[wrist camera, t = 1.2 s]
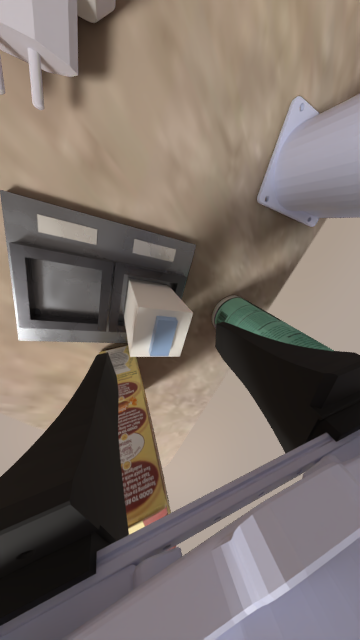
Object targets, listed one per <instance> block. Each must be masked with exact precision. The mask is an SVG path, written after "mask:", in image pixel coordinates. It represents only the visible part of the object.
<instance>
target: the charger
mask: <svg viewBox="0 0 360 640" xmlns="http://www.w3.org/2000/svg"><path fill="white" fill-rule="evenodd" d="M115 2H116V0H0V50H2V51H4V52H6V53H8V54H11V55H13V56H15V57H17V58H19V59H21V60H23V61H25V62H27V63H29V71H30V81H31V92H32V103H33V105H34V106H35V107H36V108H37V109H39V110H43V109H44V99H43V86H42V72H41V69H42V70H44V71H46V72H50V73H55V74H59V75H64V76H68V77H73V76H77V75H78V27H77V15H78V16H79V17H81V18H83V19H85V20H87V21H89V22H92V23H96V22H97V21H99V20H100V19H102V18H103V17H105V16H106V15H108V14H109V13H111V12H112V11H114V9H115ZM0 94H5V87H4V80H3V72H2V65H1V57H0Z"/></svg>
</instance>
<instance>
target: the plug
mask: <svg viewBox="0 0 360 640" xmlns="http://www.w3.org/2000/svg"><path fill="white" fill-rule="evenodd" d="M192 315H193V312H192V311H191V310H190V309H189V308H188V307H187V305H186V304H185V303H184V302H183V301H182V300H181V299H180V298H179V297H178V296H177V294H176V293H175V292H174V291H173V290H172V289H171V288H170V287H169V286H168V285H166V284H160V283H154V282H148V281H142V280H136V279H130V278H129V281H128V289H127V296H126V303H125V310H124V320H125V327H126V333H127V340H128V346H129V353H130V357H180V354H181V351H182V348H183V345H184V341H185V338H186V335H187V332H188V328H189V325H190V322H191V319H192Z"/></svg>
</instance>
